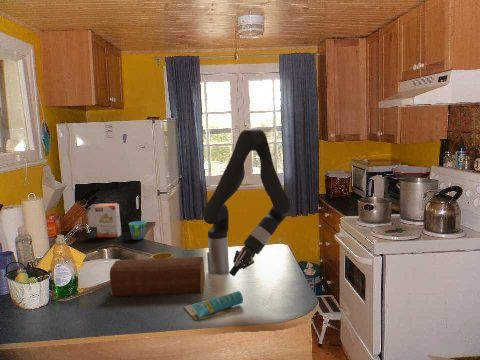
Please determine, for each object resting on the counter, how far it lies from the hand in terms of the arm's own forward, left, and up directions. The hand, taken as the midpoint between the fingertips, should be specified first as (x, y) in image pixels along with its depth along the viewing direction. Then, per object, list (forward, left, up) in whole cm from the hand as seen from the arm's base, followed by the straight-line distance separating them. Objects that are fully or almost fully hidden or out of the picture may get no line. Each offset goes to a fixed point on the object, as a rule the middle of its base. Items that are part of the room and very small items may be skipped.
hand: (231, 274), depth 178 cm
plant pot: (-47, +14, -12) cm, 50 cm away
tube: (+4, 0, -8) cm, 9 cm away
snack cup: (-104, +61, -12) cm, 122 cm away
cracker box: (-127, +58, -12) cm, 140 cm away
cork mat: (-6, -9, -12) cm, 16 cm away
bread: (-37, 0, -12) cm, 39 cm away
